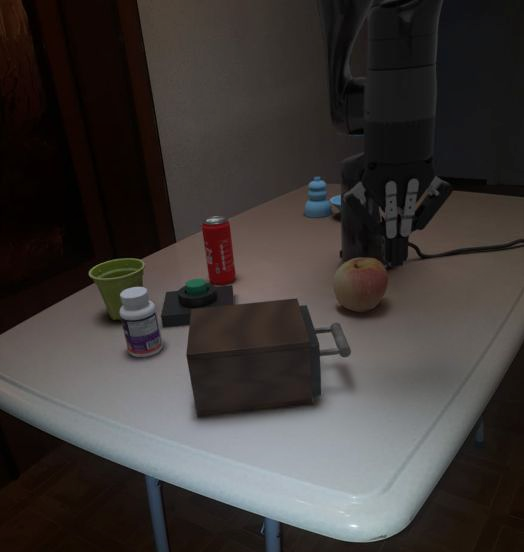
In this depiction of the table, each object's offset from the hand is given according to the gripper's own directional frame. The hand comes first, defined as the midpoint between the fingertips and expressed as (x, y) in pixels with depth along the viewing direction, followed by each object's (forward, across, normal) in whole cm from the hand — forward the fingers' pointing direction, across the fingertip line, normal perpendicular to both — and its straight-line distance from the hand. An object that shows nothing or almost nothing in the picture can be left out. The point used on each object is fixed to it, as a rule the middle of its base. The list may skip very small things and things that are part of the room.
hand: (394, 263), depth 68 cm
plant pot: (+15, -40, +27) cm, 50 cm away
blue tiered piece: (+16, +7, +72) cm, 74 cm away
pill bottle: (+15, -35, +13) cm, 40 cm away
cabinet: (+15, -19, 0) cm, 24 cm away
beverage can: (+15, -23, +38) cm, 47 cm away
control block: (+15, -27, +25) cm, 39 cm away
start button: (+11, -27, +25) cm, 38 cm away
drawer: (+14, -15, 0) cm, 21 cm away
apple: (+15, 0, +19) cm, 25 cm away
